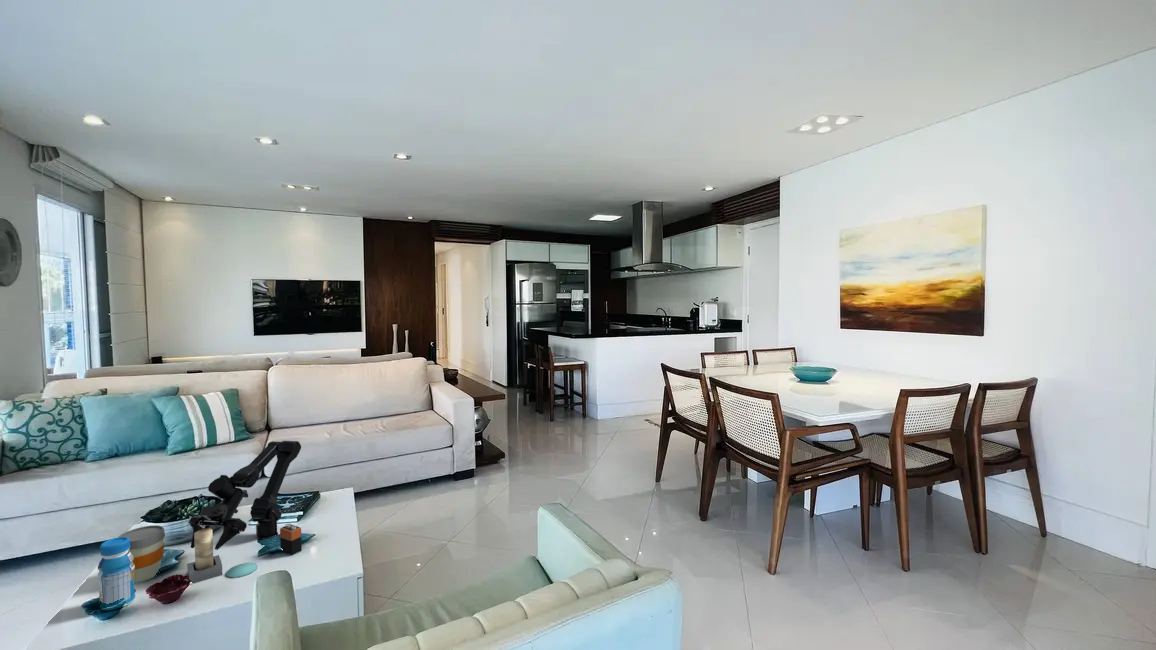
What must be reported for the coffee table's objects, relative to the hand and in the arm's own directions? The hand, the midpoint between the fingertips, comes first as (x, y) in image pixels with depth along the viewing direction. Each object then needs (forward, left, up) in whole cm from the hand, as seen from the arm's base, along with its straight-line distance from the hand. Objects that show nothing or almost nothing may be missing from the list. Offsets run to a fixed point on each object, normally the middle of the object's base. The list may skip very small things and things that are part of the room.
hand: (203, 548), depth 170 cm
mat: (-10, +6, -9) cm, 15 cm away
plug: (0, 0, -9) cm, 9 cm away
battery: (-26, +2, -9) cm, 28 cm away
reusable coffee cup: (+16, -13, -9) cm, 23 cm away
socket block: (0, 0, -9) cm, 9 cm away
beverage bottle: (+22, +3, -9) cm, 24 cm away
